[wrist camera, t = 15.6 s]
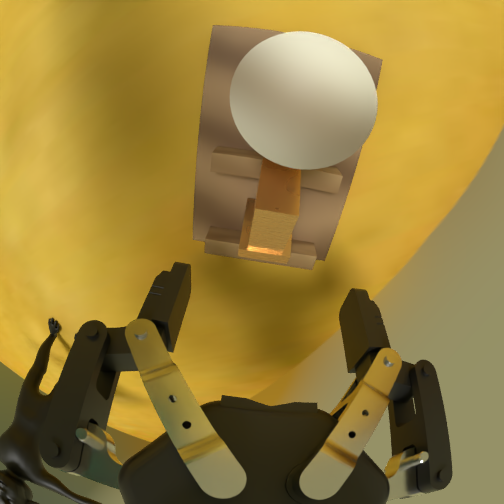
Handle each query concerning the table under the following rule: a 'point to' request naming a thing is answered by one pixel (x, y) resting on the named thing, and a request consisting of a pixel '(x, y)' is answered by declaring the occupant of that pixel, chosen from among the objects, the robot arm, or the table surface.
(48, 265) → the table surface
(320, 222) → the board
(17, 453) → the monkey
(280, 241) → the tan wooden block
